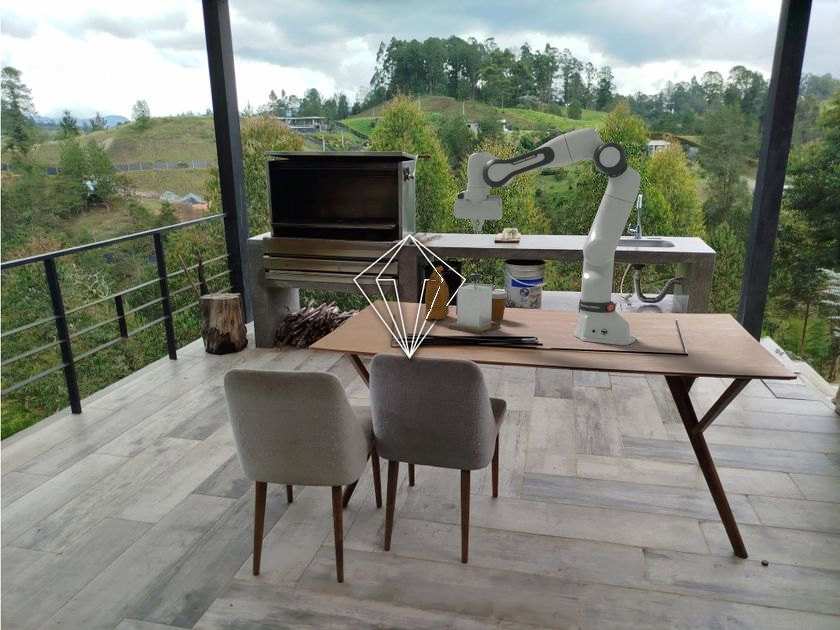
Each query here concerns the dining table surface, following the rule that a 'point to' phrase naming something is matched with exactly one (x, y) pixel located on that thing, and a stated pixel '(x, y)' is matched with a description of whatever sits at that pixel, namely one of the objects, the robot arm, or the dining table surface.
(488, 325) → the block
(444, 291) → the coffee package
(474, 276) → the plunger
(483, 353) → the dining table surface
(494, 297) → the disposable coffee cup
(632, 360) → the dining table surface
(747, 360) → the dining table surface
